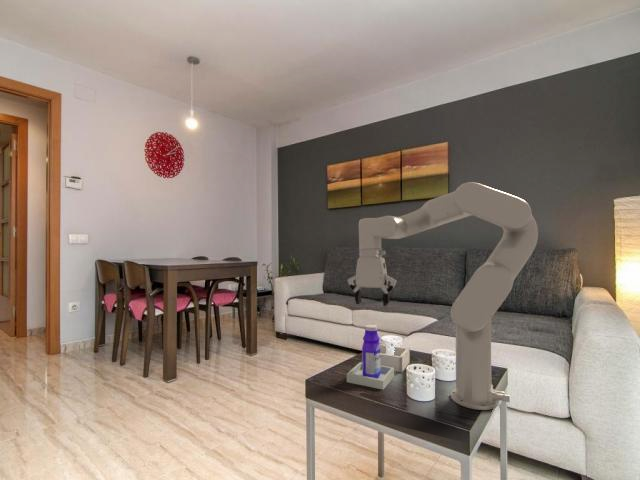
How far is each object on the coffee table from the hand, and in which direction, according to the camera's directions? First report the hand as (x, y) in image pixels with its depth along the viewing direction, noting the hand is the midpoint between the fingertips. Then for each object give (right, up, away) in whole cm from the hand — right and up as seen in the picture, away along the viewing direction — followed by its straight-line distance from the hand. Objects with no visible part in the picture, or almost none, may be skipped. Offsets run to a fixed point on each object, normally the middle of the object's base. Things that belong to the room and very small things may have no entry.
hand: (372, 304), depth 115 cm
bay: (+9, -26, +13) cm, 30 cm away
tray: (0, -26, 0) cm, 26 cm away
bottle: (0, -25, 0) cm, 25 cm away
